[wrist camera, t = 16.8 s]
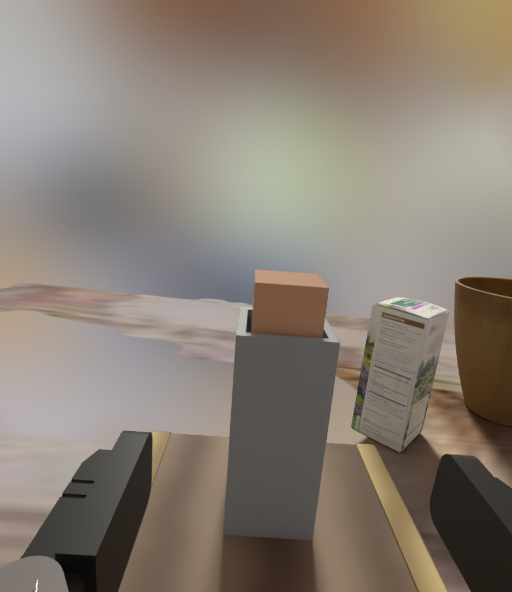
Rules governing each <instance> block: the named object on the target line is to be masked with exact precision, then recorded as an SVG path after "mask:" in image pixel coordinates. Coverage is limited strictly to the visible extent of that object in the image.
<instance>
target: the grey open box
mask: <svg viewBox="0 0 512 592" xmlns="http://www.w3.org/2000/svg"><path fill="white" fill-rule="evenodd" d="M251 322H252V308H250V307H241V308H240V315H239V321H238V327H237V333H236V345H235V361H234V377H233V391H232V408H231V422H230V437H229V453H228V468H227V483H226V498H225V514H224V529H223V535H236V536H252V537H267V538H283V539H298V540H313V534H314V526H315V519H316V512H317V505H318V498H319V490H320V483H321V476H322V469H323V461H324V454H325V447H326V440H327V432H328V425H329V418H330V411H331V403H332V396H333V388H334V382H335V375H336V368H337V360H338V353H339V346H340V342H339V340H338V339H337V337H336V335H335V333H334V332H333V330H332V328H331V327H330V325H329V323H328V322H327V320H326V318H325V323H324V331H323V338H312V337H299V336H285V335H271V334H257V333H251Z"/></svg>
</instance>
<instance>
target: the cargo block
mask: <svg viewBox="0 0 512 592" xmlns="http://www.w3.org/2000/svg"><path fill="white" fill-rule="evenodd" d="M328 290H329V287H328V286H327V285H326V284H325V283H324V281H323V280H322V279H321V278H320V277H319V276H318V274H309V273H295V272H282V271H267V270H255V282H254V297H253V308H252V322H251V333H257V334H271V335H285V336H299V337H312V338H323V331H324V323H325V315H326V307H327V299H328Z"/></svg>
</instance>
